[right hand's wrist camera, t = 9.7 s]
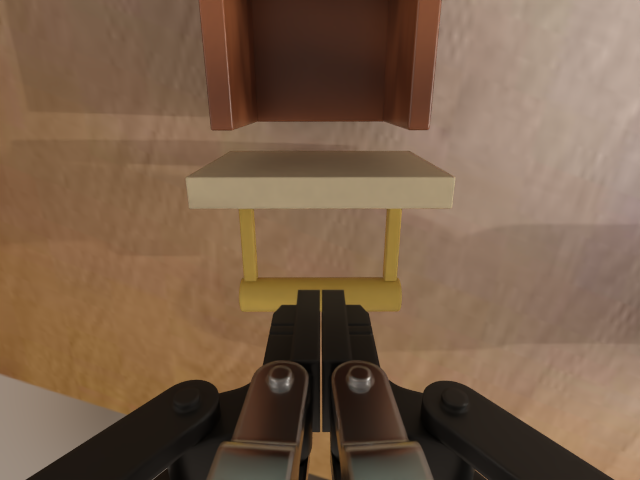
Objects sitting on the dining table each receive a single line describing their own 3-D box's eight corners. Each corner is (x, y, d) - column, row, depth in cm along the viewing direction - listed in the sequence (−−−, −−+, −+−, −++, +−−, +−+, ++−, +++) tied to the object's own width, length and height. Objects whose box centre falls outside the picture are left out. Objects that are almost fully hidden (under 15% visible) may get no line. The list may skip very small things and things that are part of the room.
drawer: (400, 273, 23) (435, 348, 16) (239, 273, 23) (205, 348, 16) (439, -229, 16) (537, -495, 9) (199, -228, 16) (102, -496, 9)
